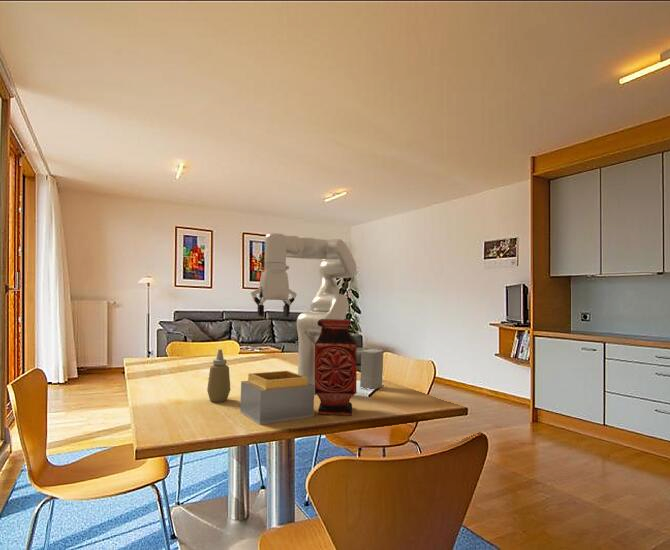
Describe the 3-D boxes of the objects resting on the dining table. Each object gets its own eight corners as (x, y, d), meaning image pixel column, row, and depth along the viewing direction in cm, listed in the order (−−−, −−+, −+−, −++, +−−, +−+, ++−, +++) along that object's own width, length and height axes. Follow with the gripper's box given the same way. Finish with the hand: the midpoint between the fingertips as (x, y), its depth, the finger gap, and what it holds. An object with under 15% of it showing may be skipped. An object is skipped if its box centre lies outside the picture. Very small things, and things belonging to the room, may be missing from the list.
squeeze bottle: (224, 403, 156) (225, 351, 157) (202, 402, 157) (204, 350, 158) (233, 398, 164) (235, 348, 164) (213, 397, 165) (214, 347, 166)
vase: (316, 405, 156) (318, 318, 157) (355, 406, 156) (357, 319, 157) (312, 416, 142) (315, 320, 144) (356, 417, 142) (358, 321, 143)
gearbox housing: (290, 405, 154) (291, 369, 155) (313, 416, 141) (314, 377, 142) (240, 412, 145) (241, 373, 145) (259, 424, 131) (261, 381, 132)
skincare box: (369, 385, 194) (370, 348, 195) (384, 387, 190) (384, 349, 190) (358, 388, 187) (359, 350, 188) (373, 390, 183) (374, 351, 184)
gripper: (291, 270, 168) (290, 315, 168) (248, 267, 159) (246, 316, 158) (301, 269, 162) (300, 316, 161) (256, 266, 153) (254, 317, 152)
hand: (273, 316), depth 160 cm, fingers open, 9 cm apart
